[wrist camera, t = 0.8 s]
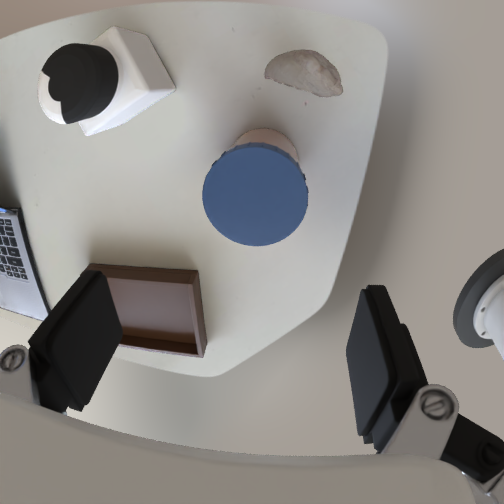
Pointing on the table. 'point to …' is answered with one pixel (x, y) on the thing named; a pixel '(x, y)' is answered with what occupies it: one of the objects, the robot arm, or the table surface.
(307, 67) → the fossil
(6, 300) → the laptop
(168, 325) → the tray
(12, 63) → the table surface
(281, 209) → the lid
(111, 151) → the table surface
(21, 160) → the table surface
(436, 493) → the robot arm
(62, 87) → the medicine bottle
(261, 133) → the jar
